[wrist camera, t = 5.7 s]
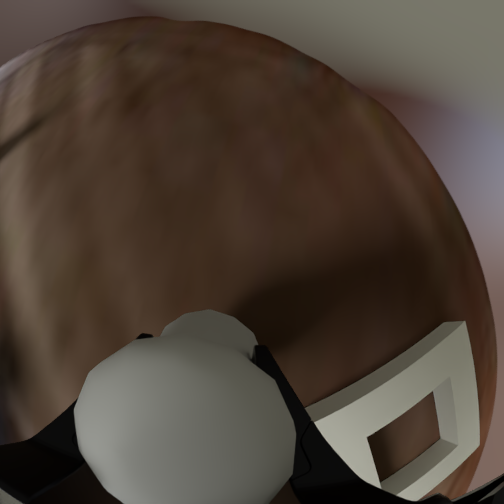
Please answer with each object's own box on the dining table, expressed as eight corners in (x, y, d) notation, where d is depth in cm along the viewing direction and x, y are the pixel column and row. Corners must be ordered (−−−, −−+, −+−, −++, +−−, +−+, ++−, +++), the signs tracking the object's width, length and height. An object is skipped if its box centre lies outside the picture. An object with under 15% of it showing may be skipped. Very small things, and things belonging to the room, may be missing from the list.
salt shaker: (190, 294, 16) (106, 215, 4) (273, 338, 16) (408, 378, 4) (147, 373, 15) (8, 461, 2) (229, 417, 15) (250, 580, 2)
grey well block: (345, 522, 15) (356, 537, 12) (297, 411, 18) (309, 424, 15) (462, 439, 18) (479, 445, 15) (443, 322, 21) (465, 320, 18)
